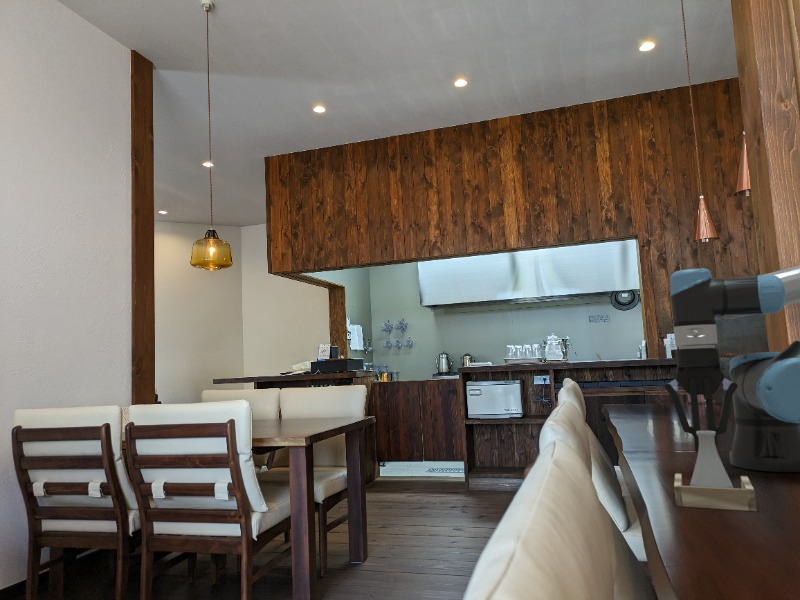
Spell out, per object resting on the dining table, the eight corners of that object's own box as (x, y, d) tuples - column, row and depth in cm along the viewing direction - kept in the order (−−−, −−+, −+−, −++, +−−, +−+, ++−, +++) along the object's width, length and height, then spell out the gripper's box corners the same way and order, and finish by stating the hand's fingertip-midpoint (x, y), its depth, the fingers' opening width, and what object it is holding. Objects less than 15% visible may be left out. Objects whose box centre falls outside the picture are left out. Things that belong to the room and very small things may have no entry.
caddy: (676, 490, 102) (675, 473, 102) (749, 494, 97) (747, 476, 97) (675, 506, 91) (674, 486, 92) (756, 511, 87) (754, 490, 87)
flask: (741, 493, 98) (735, 433, 99) (695, 493, 99) (689, 434, 100) (726, 485, 105) (720, 429, 106) (683, 484, 106) (678, 429, 107)
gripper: (659, 348, 113) (670, 472, 111) (735, 345, 108) (749, 475, 105) (661, 349, 120) (671, 465, 117) (732, 346, 114) (745, 468, 112)
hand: (708, 470), depth 111 cm, fingers closed
